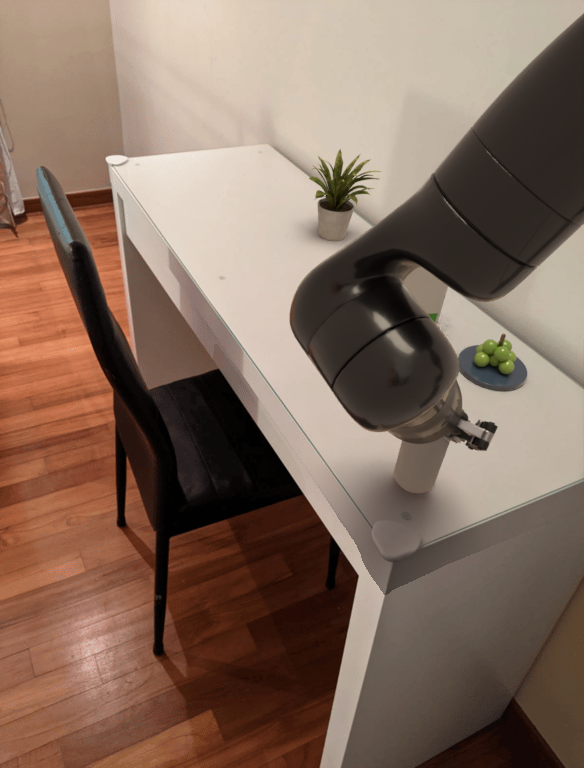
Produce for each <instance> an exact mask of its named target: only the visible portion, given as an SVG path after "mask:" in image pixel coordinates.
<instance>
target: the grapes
mask: <svg viewBox="0 0 584 768" xmlns="http://www.w3.org/2000/svg"><path fill="white" fill-rule="evenodd" d="M506 337H507V334H506V333H502V334H501V335H500V338H499V340H498V341H496V340H494V339H492V338H491V339H485V341H484V342H483V343H480V344H476V345H475V344H474V345H470V346H468V347H464V349H462V350H461V351H460V352H459V354H458V356H457V357H458V359H459V365H460V368H459V372H460V373H461V375H463V376H464V377H465V378H466V379H467V380H469V381H470V382H472V383H473V384H475V385H477V386H480V387H482V388H484V389H488V390H492V391H497V392H498V391H499V392H509V391H513V390H517V389H519V388H521V387H522V386H523V385H524V384H525V383H526V380H527V378H528V369H527V366H526V365H525V363H524V362H523V361H522V360H521V359H520V358H519V357H518V356H517V355H516V353H515V352H514V351H513V344H512V342H511V341H510V340H508V339H506Z"/></svg>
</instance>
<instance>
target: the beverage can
mask: <svg viewBox="0 0 584 768" xmlns="http://www.w3.org/2000/svg"><path fill="white" fill-rule="evenodd" d="M449 445H450V442H448V441H446V440H444V439H441V438H440V439H438V440H436V441H433V442H430V443H425V444H413V443H408V442H405V441H402V440H401V443H400V446H399V450H398V454H397V458H396V462H395V465H394V469H393V477H394V480H395V481H396V483H397V485H399V487H400V488H401V489H402V490H404V491H406V492H407V493H412V494H423V493H428V492H429V491H431V490H432V489H433V488H434V487H435V484H436V481H437V479H438V476H439V474H440V470H441V468H442V464H443V462H444V459H445V456H446V454H447V451H448V448H449Z"/></svg>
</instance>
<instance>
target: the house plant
mask: <svg viewBox="0 0 584 768" xmlns="http://www.w3.org/2000/svg"><path fill="white" fill-rule="evenodd" d="M342 153H343V152H342V149H341V148H339V150H338V152H337V154H336V157H335V161H334V166H332V164H331V163H330V162H328V161H327V160H325V159H323V158H321V157H320V155H317V158H318V160H319V161H320V162H321V164H320V163H318V162H316V163H317V165H318V166H319V167H320V168H317V167H316V166H315V165H313V168H312V170H316V171H317V173H318V174H319V175H320V177H321V178H322V180H323V181H322V180H321V179H320V178H318V177H316V176H309V177H308V179H309V180H310V181H312V182H314V183H315V184H316V185H318V186H319V187H321V189H322V190H323V191H322V190H320V189H318V190H316V193H315V196H314V200H316V199H319V200H318V201H317V223H318V236H319V237H320V238H321V239H324V240H326V241H331V242H339V241H343V240H344V239H345V237H346V234H347V231H348V230H349V229H348V228H349V226H350V223H351V219H352V216H353V213H354V211H355V205H356V206H358V197H357V195H369V196H371V193H369V192H368V191H370V190H375V188H373V187H367V186H366V185H363V184H360V185H359V184H358V185H355V184H356V183H359V182H361V181H362V182H363V181H368V180H379V178H377V177H374V175H373V174H371V173H381V172H383V171H382V170H368V171H364V172H362V173H360V174H359V172H361V171H362V169H363V167H364V166H365V165H366V164H367V163H368V162H369V163H370V161H372V158H371V159H367V160H364V161H362V162H360V163H359V164H357V166H355V168H354V169H353V167H354V165H356V163H357V161H358V159H360V156H361V154H359V155H357V156H356V157H355V158H354V159H353V160H352V161H351V162H350V163H349V164H348V166H346V168H345V169H344V170H343V167H344V160H343V157H342ZM326 163H327V164H329V166H330V168H331V172H332V174H331V172H330V169H329V167H328V165H327V164H326ZM352 169H353V170H352ZM342 172H343V173H342ZM331 175H332V176H331ZM354 185H355V186H354ZM357 189H359V190H357ZM367 190H368V191H367ZM350 200H352V201H353V202H354V203H355V205H354V203H353V202H351V201H350Z"/></svg>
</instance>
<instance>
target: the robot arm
mask: <svg viewBox="0 0 584 768" xmlns="http://www.w3.org/2000/svg"><path fill="white" fill-rule="evenodd" d="M582 226H584V12H582V14H581V15H580V16H579V17H578V18H576V19H575V20H574V21H573V22H572V23H571V24H570V25H568V26H567V27H566V28H565V29H564V30H563V31H562V32H561V33H560V34H558V35H557V36H556V37H555V38H554V39H553V40H552V41H551V42H550V43H549V44H548V45H546V47H545V48H544V49H542V50H541V51H540V52H539V53H538V54H537V55H536V56H535V57H534V58H533V59H532V60H531V61H530V62H529V63H528V64H527V65H526V66H525V67H524V68H523V69H522V70H521V71H520V72H519V73H518V74H517V75H516V76H515V77H514V78H513V79H512V81H511V82H509V84H507V86H506V87H505V88H504V89H503V90H502V91H501V92H500V93H499V94H498V95H497V97H496V98H495V99H494V100H493V101H492V102H491V103H490V104H489V105H488V107H486V109H485V110H484V111H483V112H482V114H481V115H480V116H479V117H478V118H477V120H475V122H474V123H473V125H472V126H471V127H469V128H468V130H467V131H466V133H465V134H464V135H462V137H461V138H460V140H459V141H458V142H457V143H456V144H455V146H454V147H453V148H452V149H451V151H449V153H448V154H447V155H446V156H445V158H444V159H443V160H442V161H441V162H440V163H439V165H438V166H437V167H436V168H435V170H434V172H432V173H431V174H430V175H429V177H427V179H426V181H425V182H423V184H422V185H421V186H420V188H418V190H416V191H415V192H414V193H413V194H412V195H411V196H409V198H407V199H406V200H405V201H404V202H403V203H401V204H400V205H399V206H397V207H396V208H395V209H393V210H392V211H391V212H390V213H388V214H387V215H386V216H384V218H382V219H381V220H379V221H378V222H377V223H375V224H374V225H373V226H371V227H370V228H369V229H367V230H366V231H364V233H362V234H360V235H359V236H358V237H357V238H354V239H353V240H352V241H351V242H350V243H348V244H346V245H344V246H343V247H342V248H340V249H339V250H337V251H336V252H334V253H332V254H331V255H330V256H328V257H327V258H326V259H324V260H322V261H321V262H320V263H319V264H317V265H316V266H315V267H314V268H312V269H311V270H310V271H309V272H308V273H307V274H306V275H305V276H304V277H303V279H302V280H301V282H300V283H299V285H298V286H297V287H296V290H295V292H294V294H293V296H292V300H291V304H290V309H289V326H290V330H291V333H292V334H293V336H294V338H295V340H296V342H297V343H298V344H299V346H300V348H301V349H302V350H303V352H304V353H305V355H306V356H307V358H308V359H309V360H310V362H311V363H312V365H313V366H314V368H315V369H316V370H317V372H318V373H319V375H320V376H321V378H322V379H323V381H324V382H325V383H326V385H327V387H328V388H329V390H330V391H331V392H332V393H333V395H334V397H335V399H337V402H339V404H340V405H341V407H342V408H343V409H344V411H345V412H346V414H347V415H348V417H350V418H351V419H352V420H353V421H354V422H355V423H356V424H357V425H358V426H359V427H360V428H362V429H364V430H366V431H368V432H370V433H371V432H372V433H385V432H388V433H389V434H390V435H392V436H394V437H395V438H396V439H398V440H399V441H401V442H402V441H405V442H408V443H413V444H425V443H430V442H433V441H436V440H438V439H440V438H441V439H444V440H446V441H448V442H449V443H450V442H453V443H454V444H461V442H463V443H465V444H464V445H465V446H466V447H467V449H468V450H471V451H473V450H474V451H478V452H479V451H480V452H481V451H482V452H486V451H488V449H489V447H490V444H491V443H492V440H493V438H494V436H495V434H496V432H497V430H498V428H499V426H497V425H496V423H494V422H492V421H486V420H485V421H484V420H481V419H478V420H477V422H475V424H474V423H472V422H471V420H469V415H468V414H467V412H465V409H464V408H463V395H462V390H461V387H460V385H459V382H458V380H457V379H458V377H459V374H460V370H459V368H460V365H459V359H458V357H459V356H458V354H457V352H456V350H455V349H454V347H453V345H452V343H451V342H450V340H449V338H448V337H447V336H446V335H445V333H444V332H443V331H442V330H441V328H440V327H439V326H438V324H437V325H436V323H435V322H434V321H433V320H432V319H431V317H430V316H429V315H428V314H427V312H426V311H425V310H424V309H423V307H422V306H421V305H420V304H419V302H418V301H417V300H416V299H415V298H414V296H413V295H412V294H411V293H410V291H409V290H408V289H407V288H406V286H405V285H404V284H403V281H404V280H405V278H406V277H407V276H408V275H409V274H410V273H411V272H412V271H413V270H415V269H417V268H419V267H422V268H423V269H425V270H426V271H428V272H429V273H430V274H432V275H433V276H434V277H436V278H437V279H439V280H440V281H441V282H443V283H444V284H446V285H447V286H448V288H449V289H451V290H453V291H455V292H456V293H458V294H459V295H461V296H463V297H465V298H467V299H470V300H472V301H475V302H481V303H491V302H495V301H498V300H501V299H502V298H504V297H505V296H507V295H508V294H509V293H511V292H513V290H515V289H516V288H517V287H518V286H520V285H521V283H523V282H524V281H525V280H526V279H527V278H528V277H529V276H530V275H531V274H532V273H534V272H535V270H537V268H538V267H540V266H541V265H542V264H543V263H544V262H545V261H546V260H547V259H548V258H549V257H550V256H551V255H553V254H554V253H555V252H556V251H557V250H558V249H559V248H560V247H561V246H562V245H563V244H564V243H565V242H566V241H567V240H568V239H570V238H571V237H572V236H573V235H574V234H575V233H576V232H577V231H578V230H580V229H581V227H582Z"/></svg>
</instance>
